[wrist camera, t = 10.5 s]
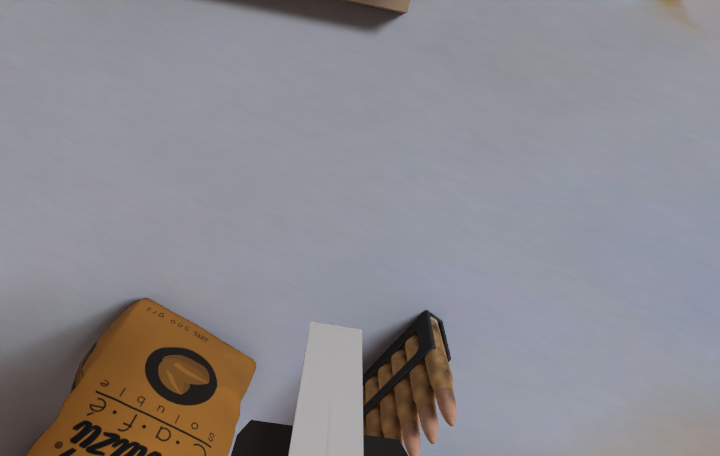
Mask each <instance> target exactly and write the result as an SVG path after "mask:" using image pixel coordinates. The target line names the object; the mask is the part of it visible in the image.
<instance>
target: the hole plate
mask: <svg viewBox="0 0 720 456" xmlns="http://www.w3.org/2000/svg"><path fill="white" fill-rule="evenodd" d="M338 1H343V2H348V3H353V4H358V5H363V6H368V7H372V8H377V9H382V10H387V11H392V12H397V13H402V14H405V13H407V11H408V6H409V1H410V0H338Z"/></svg>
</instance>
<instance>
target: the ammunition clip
mask: <svg viewBox="0 0 720 456" xmlns="http://www.w3.org/2000/svg"><path fill="white" fill-rule="evenodd" d="M450 360H451V357H450V352H449V348H448V344H447V339H446V335H445V330H444V326H443V322H442V321H441V320H440V319H439V318H437V317H436V316H435V315H433V314H432V313H430V312H429V311H428V310H425V311H424V312H423V314H422V315H421V316H420V317H419V318H418V319H417V320H416V321H415V322H414V323H413V324H412V325H411V326H410V327H409V328H408V329H407V330H406V331H405V332H404V333H403V334H402V335H401V336H400V337H399V338H398V339H397V340H396V341H395V342H394V344H393V345H392V346H391V347H390V348H389V349H388V350H387V351H386V352H385V353H384V354H383V355H382V356H381V357H380V358H379V359H378V360H377V361H376V362H375V363H374V364H373V365H372V366H371V367H370V368H369V369H368V370H367V371H366V372H365V374H364V375H363V435H369V436H376V437H383V438H390V439H397V440H399V441H400V442H401V444H402V446H403V440H404V444H405V447H406V450H407V452H408V454H409V456H418V454H419V449H420V432H419V418H420V422H421V426H422V429H423V431H424V433H425V435H426V437H427V439H428V440H429V442H430V443H432V444H434V443H435V441H436V438H437V433H438V420H437V414H436V405H435V400H436V399H437V403H438V406H439V409H440V411H441V414H442V416H443V418H444V419H445V421H446V422H447V423H448V424H449V425H450V426H454V424H455V421H456V402H455V398H454V391H453V378H452V374H451V370H450V367H449V363H448V362H449V361H450Z"/></svg>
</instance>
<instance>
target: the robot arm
mask: <svg viewBox="0 0 720 456" xmlns="http://www.w3.org/2000/svg"><path fill="white" fill-rule="evenodd" d="M231 456H408V455H407V453H406V451H405V449H404V448H403V446H402V444H401V442H400V441H399V440H397V439H390V438H383V437H376V436H369V435H363V375H362V330H360V329H354V328H347V327H341V326H334V325H328V324H322V323H315V322H311V323H310V328H309V334H308V340H307V346H306V351H305V357H304V363H303V369H302V375H301V380H300V386H299V392H298V398H297V404H296V410H295V416H294V422H293V426H290V425H283V424H276V423H269V422H262V421H255V420H251V421H250V422H249V423H248V424H247V425H246V426H245V427H244V428H243V429H242V430H241V432H240V433H239V434H238V435H237V437H236V441H235V444H234V447H233V451H232V454H231Z"/></svg>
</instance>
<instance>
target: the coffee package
mask: <svg viewBox="0 0 720 456" xmlns="http://www.w3.org/2000/svg"><path fill="white" fill-rule="evenodd" d="M255 369H256V363H255V362H254V360H253V359H251V358H250V357H248V356H246V355H245V354H243V353H242V352H240V351H238V350H236V349H235V348H233V347H232V346H230V345H229V344H227V343H225V342H223V341H221V340H220V339H219V338H217V337H216V336H214V335H213V334H211V333H209V332H208V331H206V330H205V329H203V328H201V327H200V326H198V325H196V324H195V323H193V322H191V321H189V320H187V319H185V318H183V317H181V316H180V315H178V314H176V313H174V312H172V311H170V310H169V309H167V308H165V307H163V306H161V305H160V304H158V303H156V302H155V301H153V300H151V299H149V298H146V299H142V300H139V301H137V302H136V303H134V304H132V305H131V306H129V307H128V308H127V309H126V310H125V311H124V312H123V313H122V314H121V315H120V316H119V317H118V318H117V319H116V320H115V321H114V322H113V323H112V324H111V326H110V327H109V328H108V329H107V330H106V331H105V332H104V333H103V334H102V335H101V337H100V338H99V339H98V340H97V342H96V343H95V344H94V346H93V347H92V348H91V350H90V351H89V352H88V353H87V354H86V355H85V357H84V358H83V360H82V361H81V362H80V365H79V368H78V371H77V373H76V376H75V379H74V383H73V386H72V389H71V392H70V395H69V396H68V397H67V399H66V400H65V401H64V404H63V406H62V408H61V410H60V412H59V414H58V417H57V418H56V420H55V421H54V423H53V424H52V425H51V426H50V427H49V428H48V429H47V430H46V431H45V432H44V433H43V434H42V435H41V436H40V437H39V438H38V439H37V441H36V442H35V444H34V445H33V447H32V448H31V449H30V451H29V452H28V453H27V455H26V456H228V454H229V451H230V448H231V444H232V441H233V437H234V433H235V426H236V423H237V421H238V419H239V416H240V402H241V399H242V398H243V396H244V395H245V393H246V391H247V389H248V386H249V384H250V382H251V379H252V377H253V374H254V372H255Z"/></svg>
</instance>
